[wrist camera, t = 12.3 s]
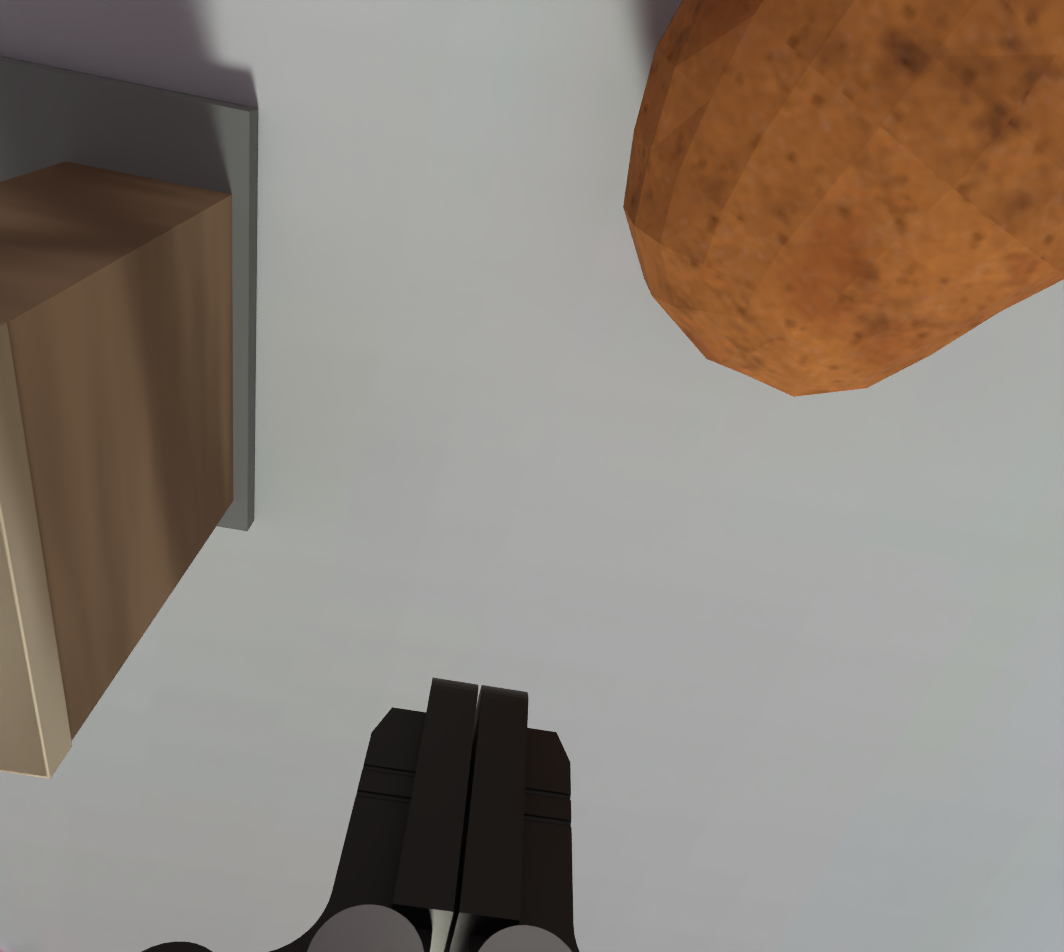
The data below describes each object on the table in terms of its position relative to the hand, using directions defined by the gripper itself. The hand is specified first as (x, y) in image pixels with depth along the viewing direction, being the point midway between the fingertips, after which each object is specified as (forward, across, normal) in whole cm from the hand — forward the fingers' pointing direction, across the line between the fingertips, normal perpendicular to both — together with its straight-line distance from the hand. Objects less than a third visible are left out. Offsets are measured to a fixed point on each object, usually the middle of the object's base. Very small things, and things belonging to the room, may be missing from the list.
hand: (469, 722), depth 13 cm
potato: (+12, -6, -9) cm, 16 cm away
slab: (+11, +10, 0) cm, 15 cm away
